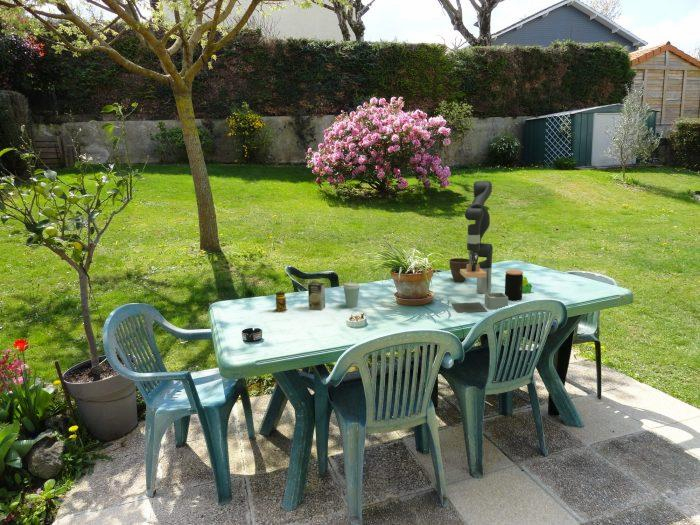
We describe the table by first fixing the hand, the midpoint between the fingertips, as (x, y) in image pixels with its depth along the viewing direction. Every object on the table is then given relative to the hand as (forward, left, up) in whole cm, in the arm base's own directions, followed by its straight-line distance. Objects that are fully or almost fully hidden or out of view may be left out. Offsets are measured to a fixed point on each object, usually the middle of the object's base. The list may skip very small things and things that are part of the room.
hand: (472, 270), depth 300 cm
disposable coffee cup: (-11, -73, -24) cm, 78 cm away
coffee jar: (-15, +30, -24) cm, 41 cm away
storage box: (-1, +15, -23) cm, 28 cm away
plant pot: (-63, +6, -24) cm, 68 cm away
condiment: (-7, -118, -24) cm, 121 cm away
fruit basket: (-30, +41, -24) cm, 56 cm away
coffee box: (-9, -95, -24) cm, 98 cm away
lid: (0, 0, -3) cm, 3 cm away
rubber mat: (0, -2, -23) cm, 24 cm away
